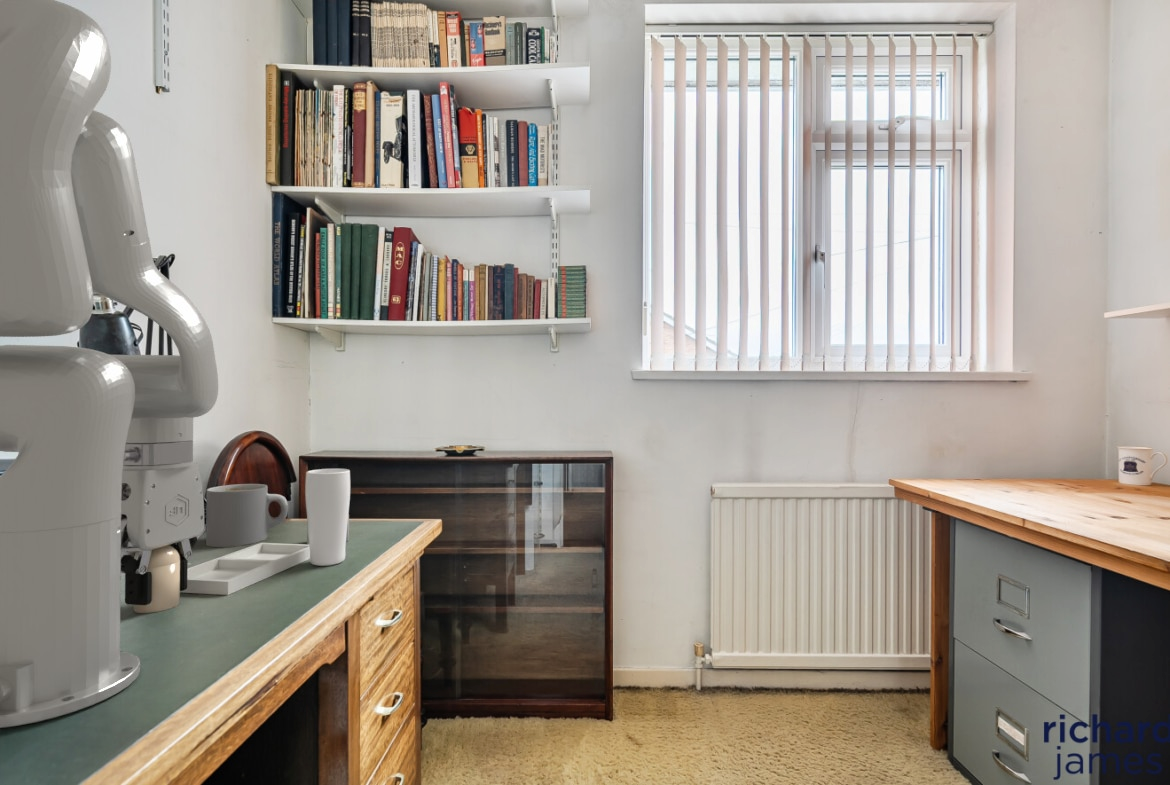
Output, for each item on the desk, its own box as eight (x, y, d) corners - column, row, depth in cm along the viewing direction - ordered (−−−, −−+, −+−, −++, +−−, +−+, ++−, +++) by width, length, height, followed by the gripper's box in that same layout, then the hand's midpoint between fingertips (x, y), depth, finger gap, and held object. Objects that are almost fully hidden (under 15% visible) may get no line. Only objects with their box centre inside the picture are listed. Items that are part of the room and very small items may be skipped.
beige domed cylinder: (157, 614, 73) (158, 549, 73) (123, 611, 74) (124, 548, 74) (188, 600, 78) (189, 540, 78) (156, 598, 79) (157, 539, 79)
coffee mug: (197, 548, 105) (198, 492, 105) (216, 536, 114) (217, 484, 115) (280, 543, 108) (280, 489, 109) (291, 532, 118) (292, 482, 118)
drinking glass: (339, 568, 93) (339, 473, 93) (296, 568, 93) (297, 473, 93) (356, 556, 99) (357, 468, 100) (317, 556, 100) (317, 468, 100)
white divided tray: (228, 594, 80) (228, 581, 80) (159, 591, 82) (159, 578, 82) (317, 555, 100) (317, 544, 100) (261, 553, 102) (261, 542, 102)
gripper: (122, 463, 67) (121, 623, 67) (232, 450, 84) (232, 578, 84) (66, 462, 68) (65, 619, 68) (186, 449, 85) (185, 575, 85)
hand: (157, 595), depth 76 cm, fingers closed on beige domed cylinder, 4 cm apart
